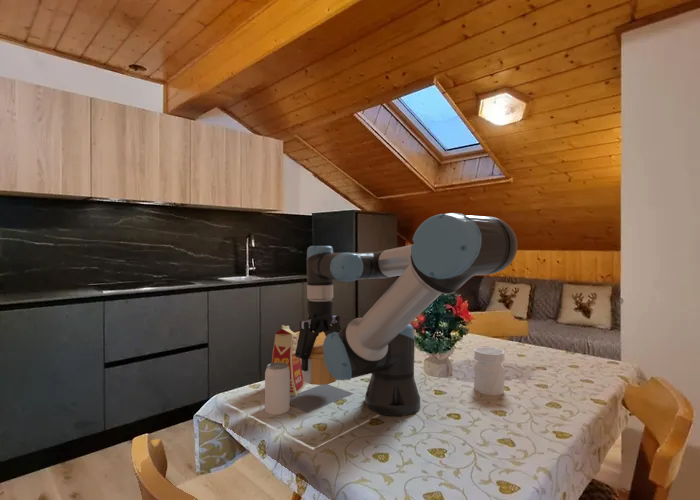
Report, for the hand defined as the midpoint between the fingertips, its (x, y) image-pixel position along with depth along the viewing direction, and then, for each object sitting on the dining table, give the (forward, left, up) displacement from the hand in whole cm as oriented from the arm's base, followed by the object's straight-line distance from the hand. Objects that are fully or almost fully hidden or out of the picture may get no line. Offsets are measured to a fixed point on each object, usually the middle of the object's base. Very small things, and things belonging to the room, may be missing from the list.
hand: (320, 377), depth 113 cm
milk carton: (+12, +3, -6) cm, 13 cm away
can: (+2, +14, -6) cm, 15 cm away
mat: (0, +1, -6) cm, 6 cm away
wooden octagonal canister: (0, 0, -1) cm, 1 cm away
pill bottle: (-33, -39, -6) cm, 51 cm away
